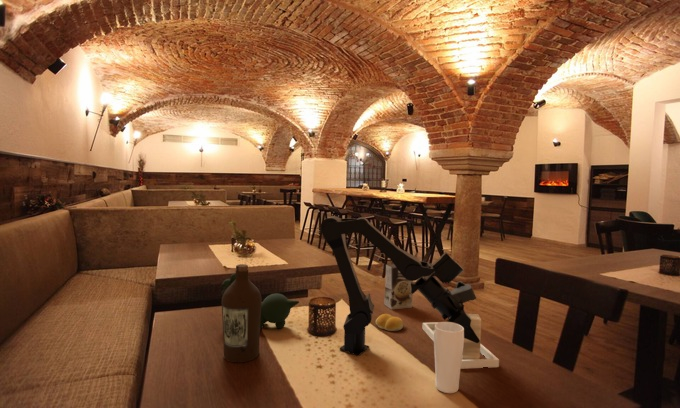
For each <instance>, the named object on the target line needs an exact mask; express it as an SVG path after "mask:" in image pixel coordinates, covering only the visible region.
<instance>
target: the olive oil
mask: <svg viewBox="0 0 680 408" xmlns="http://www.w3.org/2000/svg"><path fill="white" fill-rule="evenodd" d="M248 268H249V265H248V264H245V263H244V264H243V263H242V264H237V265H235V273H236V279H235V281H234V282H233V283H232V284H231V285H230V286H229V287H228V288H227V289H226V290H225V292H224V294H223V295H222V297H221V314H222V315H221V316H222V320H221V321H222V336H223V337H222V338H223V342H222V343H223V358H224V359H225V360H226V361H228V362H232V363H244V362H249V361H252V360H254V359H256V358H257V357H258V356H259V354H260V334H261V333H260V332H261V329H260V319H261V304H262V302H263V301H262V300H263V299H262V295H261V292H260V290H259V288H258V287H257V286H256V285H255V284H254V283H253V282H252V281H251V280H250V279H249V269H248Z"/></svg>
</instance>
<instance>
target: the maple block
mask: <svg viewBox="0 0 680 408" xmlns="http://www.w3.org/2000/svg"><path fill="white" fill-rule="evenodd" d="M467 314H468V316H470V318H471V324H470V326H471V327H472V329H473V331H474V332H475V334H476V335H477V337H478V338H479V340H480V342H478V343H475V342H473V341H470V340H468V339H466V338H464V346H463V354H462V360H469V359H481V353H480V343H481V342H482V341H481V340H482V339H481V338H482V318H481V316H480V315H479V314H478V313H475V314H474V313H467Z"/></svg>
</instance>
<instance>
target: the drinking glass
mask: <svg viewBox="0 0 680 408" xmlns="http://www.w3.org/2000/svg"><path fill="white" fill-rule="evenodd" d="M463 346H464V328H463V327H462V326H461V325H459V324H456V323H452V322H447V321H439V323H436V324H435V330H434V341H433V353H434V354H433V356H434V370H435V371H434V372H435V373H434V374H435V377H434V378H435V382H434V383H435V384H434V385H435V388H436V389H437V390H438V391H440V392H441V393H444V394H454V393H456V392H458V390H459V389H460V387H459V386H460V383H459V382H460V376H461V375H460V374H461V370H462V369H461V361H462V354H463Z"/></svg>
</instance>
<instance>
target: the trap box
mask: <svg viewBox="0 0 680 408" xmlns="http://www.w3.org/2000/svg"><path fill="white" fill-rule="evenodd" d="M439 322H440V321H439ZM439 322H422V330H423V331H424V333H426V335H427V336H428V337H429V338H430V339H431V340H432V342H434V330H435V324H436V323H439ZM480 355H482V356H483V355H484V356H485V357H484V356H483V357H484V358H480V359H469V360H462V361H461V369H460V370H463V369H481V368H482V369H484V368H483V367H488V368H500V359H499V358H498V357H496V355H494V354H493V352H491V351H490V350H489V349H488V348H487V347H485V346H484V345H483V344H482V343H481V342H480Z"/></svg>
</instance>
